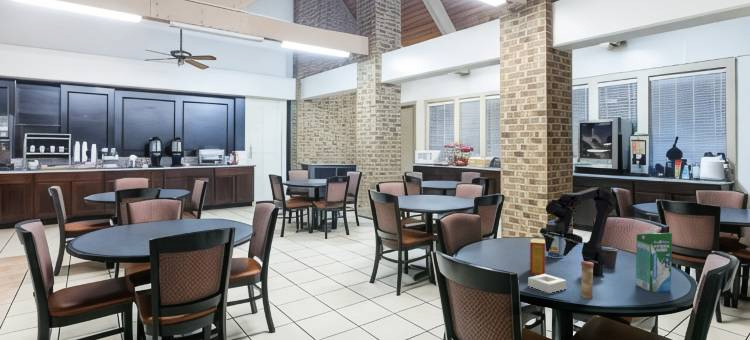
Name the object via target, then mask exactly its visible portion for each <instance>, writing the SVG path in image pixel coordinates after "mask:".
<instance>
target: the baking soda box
mask: <svg viewBox="0 0 750 340" xmlns="http://www.w3.org/2000/svg"><path fill="white" fill-rule="evenodd" d="M529 242H530V246H529V254H530V255H529V258H530V259H529V265H530V266H529V270H530V272H529V274H530V275H532V274H538V275H541V274H546V245H545V239H544V238H542V239H541V238H531V239H530V241H529Z"/></svg>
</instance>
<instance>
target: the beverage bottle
mask: <svg viewBox="0 0 750 340" xmlns="http://www.w3.org/2000/svg"><path fill="white" fill-rule="evenodd" d="M554 221H555V220H550V221H549V222H548V223H554ZM562 235H563V234H562ZM563 236H564V235H563ZM552 238H554V240H553V243H552V245H551V247H550V250H549V251H548V252H547V257H549V258H551V257H552V259H562V258H564V257H565V256H563V254H564V249H565V246H564V245H565V244H564V242H565V238H562V237H557V236H554V237H552Z"/></svg>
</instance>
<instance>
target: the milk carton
mask: <svg viewBox="0 0 750 340" xmlns="http://www.w3.org/2000/svg"><path fill="white" fill-rule="evenodd" d="M672 245H673V233H672V232H663V233H662V232H661V233H660V232H659V233H657V230H647V231H646V230H645V233H638V234H636V254H635V255H636V259H635V260H636V263H635V286H637V287H639V288H641V289H643V290H644V291H645V290H646V291H647V292H651V293H657V292H660V293H664V292H665V293H666V292H671V291H672V257H673V256H672V253H673V252H672V251H673V250H672V247H673V246H672Z"/></svg>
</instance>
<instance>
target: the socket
mask: <svg viewBox="0 0 750 340" xmlns="http://www.w3.org/2000/svg"><path fill="white" fill-rule="evenodd" d="M528 286H530V287H529V288H531V287H533V288H532V289H534V288H536V289H539V290H541V291H540V292H542V291H545V292H548V293H552V292H555V293H557V292H556V291H559V292H561V291H560V290H562V291H564V289H566V290H567V279H563V278H561V277H557V276H553V275H550V274H547V273H545V274H541V275H533V276H529V277H528V278H527V287H528ZM536 289H535V290H536ZM539 290H538V291H539ZM545 292H544V293H545ZM548 293H547V294H548ZM552 294H553V293H552Z"/></svg>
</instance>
